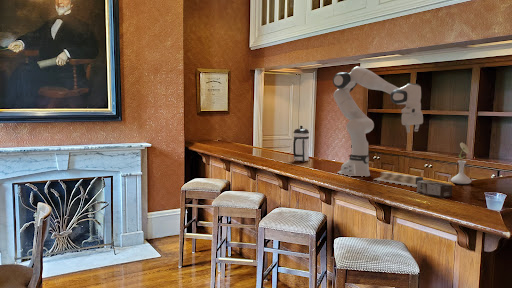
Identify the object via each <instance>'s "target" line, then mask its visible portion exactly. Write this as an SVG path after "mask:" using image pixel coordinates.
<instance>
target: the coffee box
mask: <svg viewBox="0 0 512 288" xmlns="http://www.w3.org/2000/svg"><path fill="white" fill-rule="evenodd" d="M416 192H417V193H420V194H423V195H428V196H430V195H431V197H434V196H435V197H434V198H437V199H444V197H445V198H451V196H452V197H453V184H449V183H446V182H440V181H435V180H430V179H423V181H417V188H416Z"/></svg>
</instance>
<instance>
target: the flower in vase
mask: <svg viewBox="0 0 512 288" xmlns="http://www.w3.org/2000/svg"><path fill="white" fill-rule="evenodd" d="M459 147H460V148H461V151H460V154H458V158H460V160H457V162H458V165H459V171H458V174H456V175H455V176H452V177H451V179H450V181H451V182H452V183H454V184H456V185H457V184H458V185H469V184H471V183H472V179H471V178H470V177H468V176H467V175H466V174H465V172H464V171H465V170H464V169H465V164H466V163H467V160H462V159H464V158H465V157H466V155H463V157H462V152H464V153H466V154H467V155H468V154H470V149H469V147H468V145H466V144H465V142H464V143H463V142H460V143H459Z"/></svg>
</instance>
